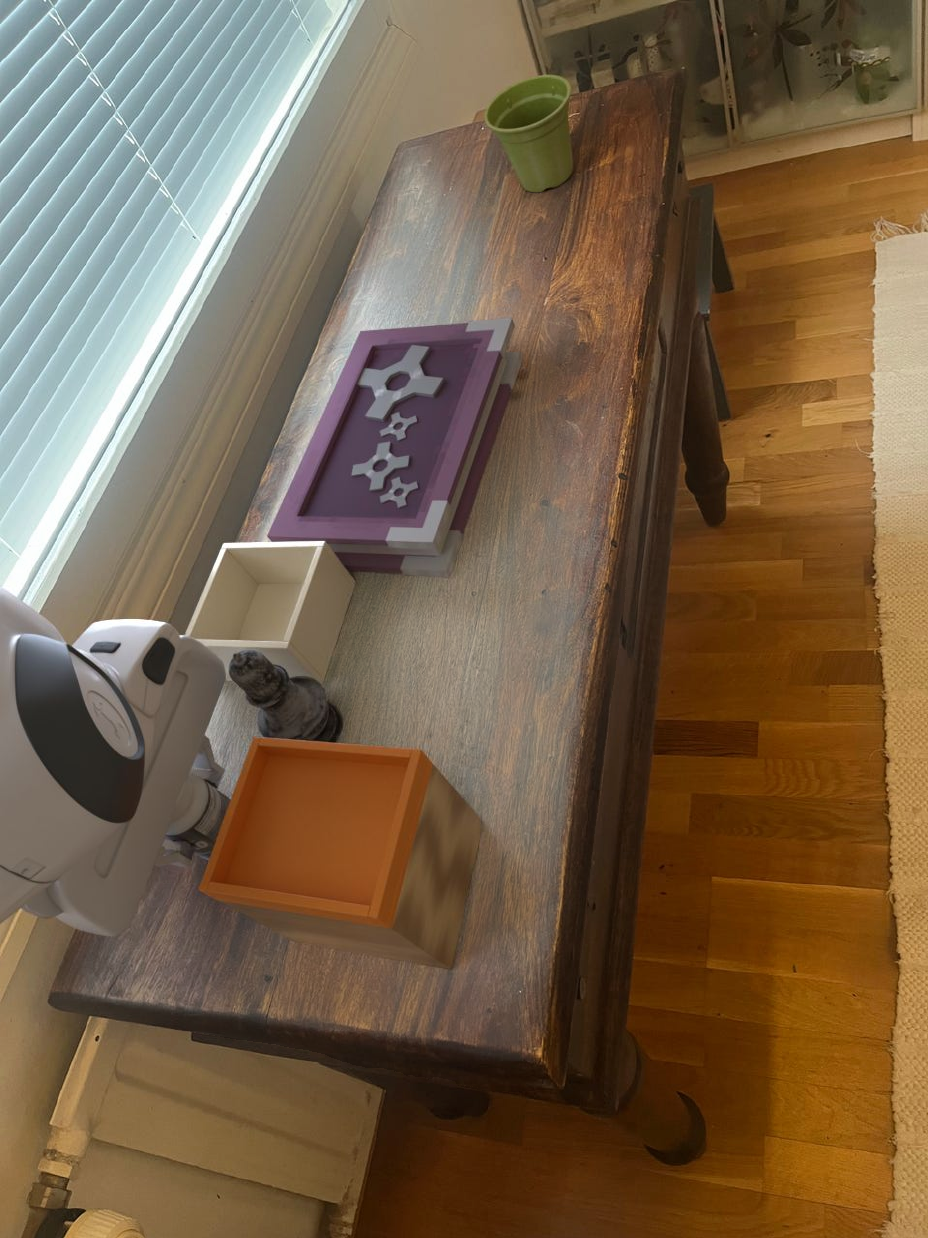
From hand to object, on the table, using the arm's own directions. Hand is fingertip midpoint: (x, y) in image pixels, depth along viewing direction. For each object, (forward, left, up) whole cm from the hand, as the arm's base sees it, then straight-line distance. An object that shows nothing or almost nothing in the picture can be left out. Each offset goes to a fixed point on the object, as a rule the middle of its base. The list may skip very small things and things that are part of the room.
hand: (200, 816), depth 69 cm
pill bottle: (0, 0, -3) cm, 3 cm away
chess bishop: (+9, -5, -3) cm, 11 cm away
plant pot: (+78, -12, -3) cm, 79 cm away
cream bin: (+18, +1, -3) cm, 18 cm away
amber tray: (-2, -15, +7) cm, 17 cm away
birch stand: (-2, -15, -3) cm, 15 cm away
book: (+37, -6, -3) cm, 37 cm away
